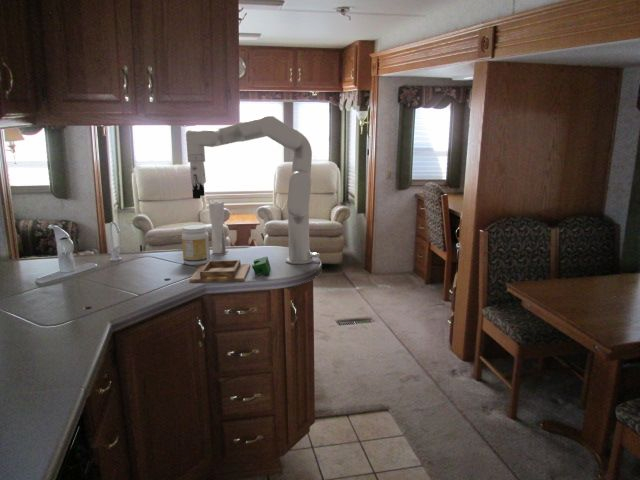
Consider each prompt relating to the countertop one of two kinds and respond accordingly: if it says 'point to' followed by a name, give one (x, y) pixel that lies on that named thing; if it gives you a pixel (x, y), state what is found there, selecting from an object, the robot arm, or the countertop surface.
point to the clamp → (261, 266)
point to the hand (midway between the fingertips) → (198, 197)
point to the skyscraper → (217, 226)
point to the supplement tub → (195, 245)
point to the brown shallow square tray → (221, 271)
